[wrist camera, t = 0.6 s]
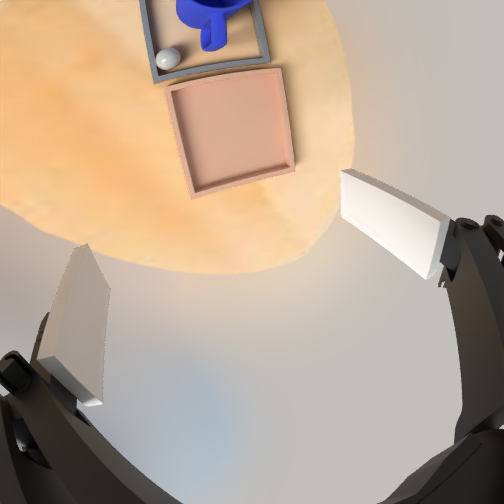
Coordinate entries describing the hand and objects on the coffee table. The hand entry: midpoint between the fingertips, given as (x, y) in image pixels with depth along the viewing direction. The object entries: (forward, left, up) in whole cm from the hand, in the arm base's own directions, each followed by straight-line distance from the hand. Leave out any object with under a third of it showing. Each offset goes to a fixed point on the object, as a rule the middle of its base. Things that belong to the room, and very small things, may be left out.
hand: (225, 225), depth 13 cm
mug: (-17, +6, -25) cm, 31 cm away
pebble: (-13, +1, -24) cm, 27 cm away
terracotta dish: (-1, +7, -24) cm, 25 cm away
